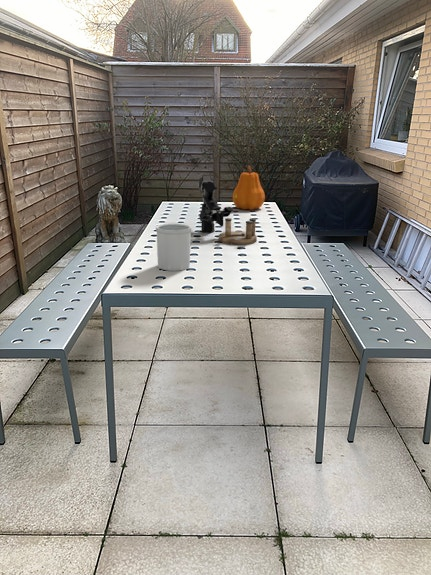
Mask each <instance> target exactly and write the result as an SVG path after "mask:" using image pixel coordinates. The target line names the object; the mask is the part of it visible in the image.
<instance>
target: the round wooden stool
mask: <svg viewBox="0 0 431 575" xmlns="http://www.w3.org/2000/svg"><path fill="white" fill-rule="evenodd" d="M256 221H257V218H249V219H248V220H246V221H245V231H243V230H242V231H241V230H240V231H237V230H236V231H235V230H231V234H241V233H245V236H225V231H224V232H220V233H219V234H218V241H219V242H220V243H222V244H226V245H233V246H243V245H245V246H246V245H253V244H255V243H256V242H257V241H258V240H257V239H258V238H257V237H258V235H257V234H256V224H257V223H256Z"/></svg>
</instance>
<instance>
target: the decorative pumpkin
mask: <svg viewBox="0 0 431 575" xmlns="http://www.w3.org/2000/svg"><path fill="white" fill-rule="evenodd" d="M246 168H247V170H248V172H247V171H246V172H241V174H240V176H239V179H238V182H237V185H236V187H235V188H234V190H233V193H232V202H233V204H234V205H235V207H236V208H238V209H239V210H240V209H241V210H249V211H250V210H251V211H252V210H257V209H259V208H261V207H262V206H263V204H264V203H265V201H266V200H265V199H266V196H265V195H266V194H265V192H264V189H263V187H262V185H261V181H260V176H259V174H258V173H257V172H254V171H253V172H252V168H251V166H250V164H249V165H248V164H247V166H246Z"/></svg>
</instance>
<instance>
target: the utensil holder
mask: <svg viewBox="0 0 431 575" xmlns="http://www.w3.org/2000/svg"><path fill="white" fill-rule="evenodd" d="M155 231H156V249H157V250H156V251H157V252H156V253H157V267H158V268H159V269H161V270H163V271H168V272H169V271H170V272H171V271H172V272H173V271H174V272H177V271H183V270H187V269H189V268H190V264H191V231H192V226H191V225H189V224H185V223H175V222H170V223H160V224H157V225H156V226H155Z"/></svg>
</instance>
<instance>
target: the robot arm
mask: <svg viewBox="0 0 431 575" xmlns="http://www.w3.org/2000/svg"><path fill="white" fill-rule="evenodd" d="M212 178H213V177H212V176H211V175H210V174H201V177H200V178H199V179H198V189H199V192H200V193H201V194H202V202H203V203H202V205H201V210H200V211H199V214H198V217H199V222H201V230H200V231H199V232H201V233H208V234H211V233H213V232H215V223H214V222H216V224H218V225H219V226H220V227H222V228H223V227H224V218H226V217H227V218H229V216H230V215H231V213H232V212H233V211H234V209H233V207H232V206H225V207H224V208H223V209H222V207H221V206H220V205H219V204H218V202H219V201H218V200H217V199H216V198H215V192H216V191H217V189H218V186H217V185H216V183H215V182H214V180H213V179H212Z"/></svg>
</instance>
